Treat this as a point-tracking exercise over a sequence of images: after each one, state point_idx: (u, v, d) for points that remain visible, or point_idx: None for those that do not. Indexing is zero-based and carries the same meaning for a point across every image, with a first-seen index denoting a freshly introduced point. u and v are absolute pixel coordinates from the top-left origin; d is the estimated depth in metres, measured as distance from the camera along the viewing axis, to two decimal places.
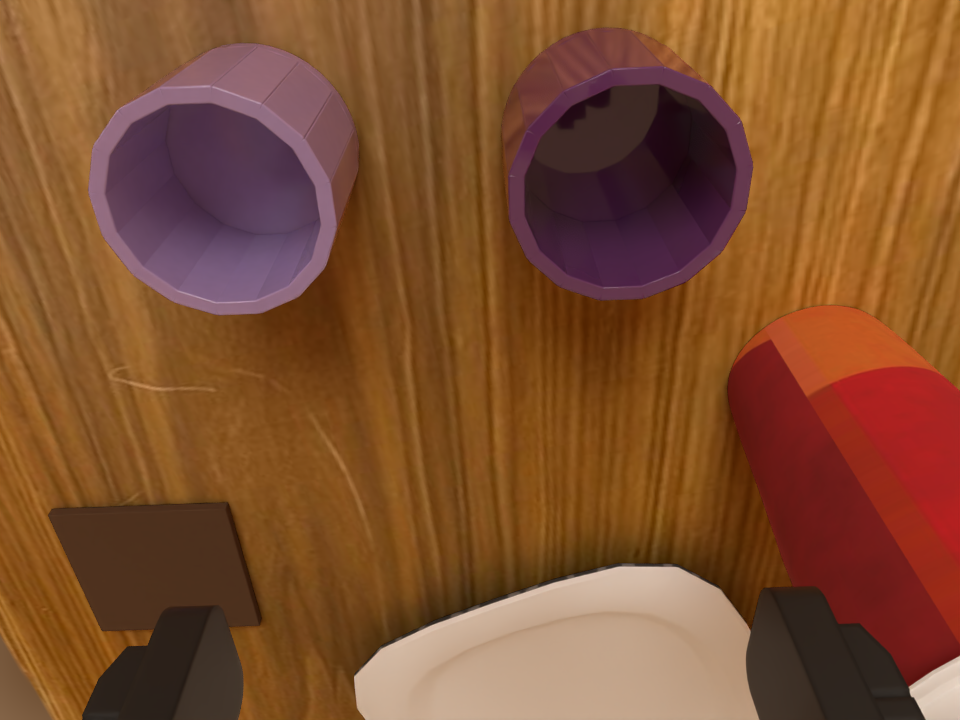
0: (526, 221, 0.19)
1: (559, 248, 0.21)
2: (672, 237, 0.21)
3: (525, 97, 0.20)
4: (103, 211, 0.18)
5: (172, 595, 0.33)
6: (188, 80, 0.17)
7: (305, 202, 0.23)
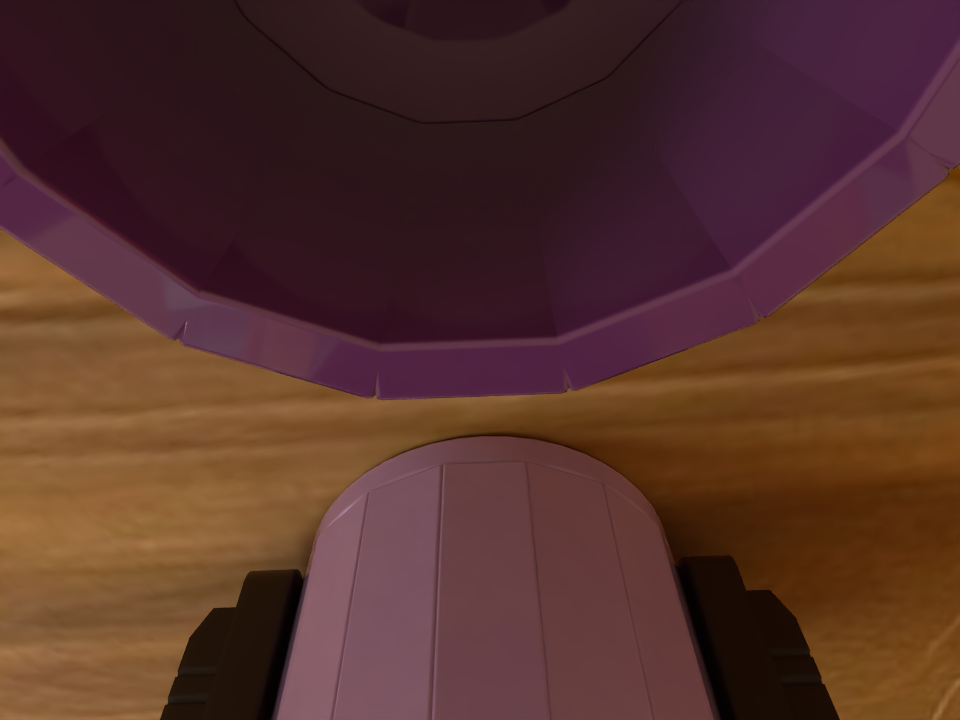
0: (579, 327, 0.04)
1: (776, 78, 0.05)
2: None
3: None
4: None
5: None
6: None
7: None
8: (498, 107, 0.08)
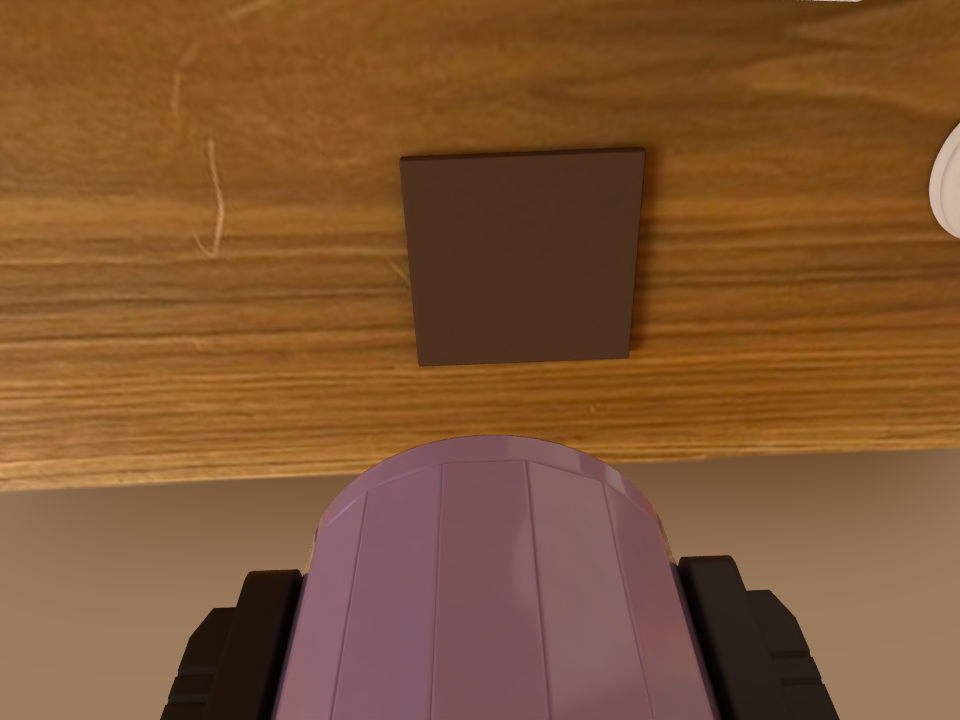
0: None
1: None
2: None
3: None
4: None
5: (566, 260, 0.24)
6: None
7: None
8: None
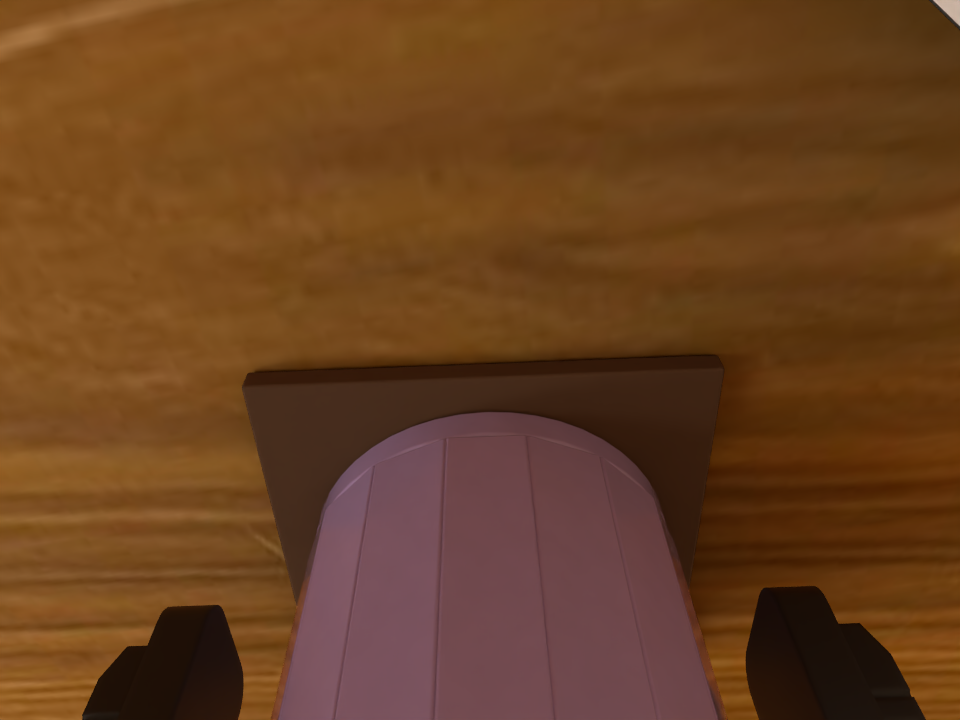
0: None
1: None
2: None
3: None
4: None
5: None
6: None
7: None
8: None
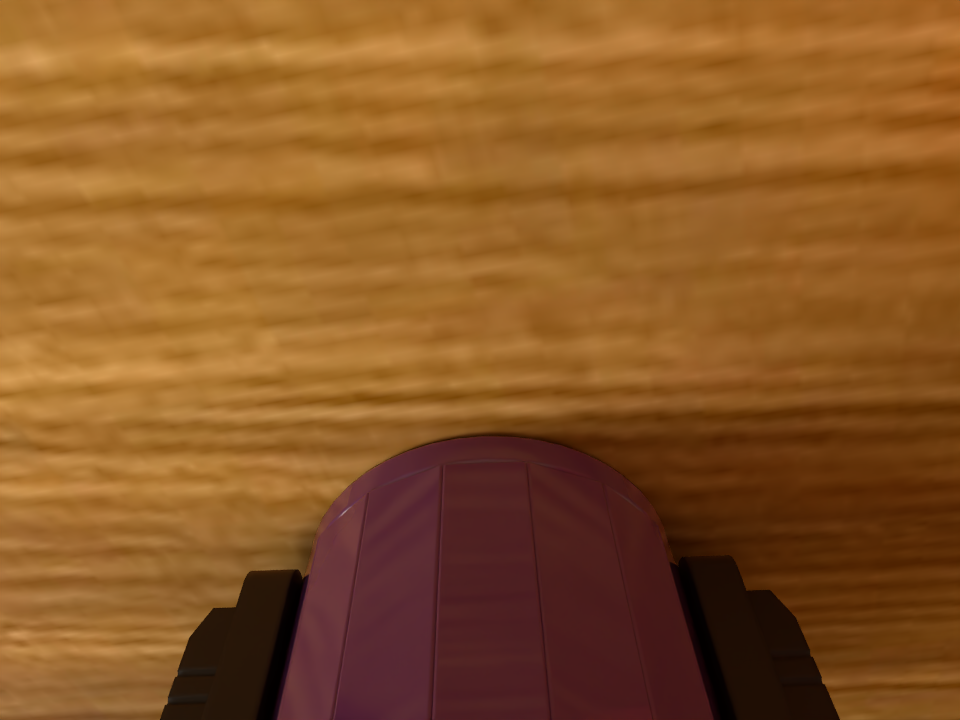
0: None
1: None
2: None
3: None
4: None
5: None
6: None
7: None
8: None
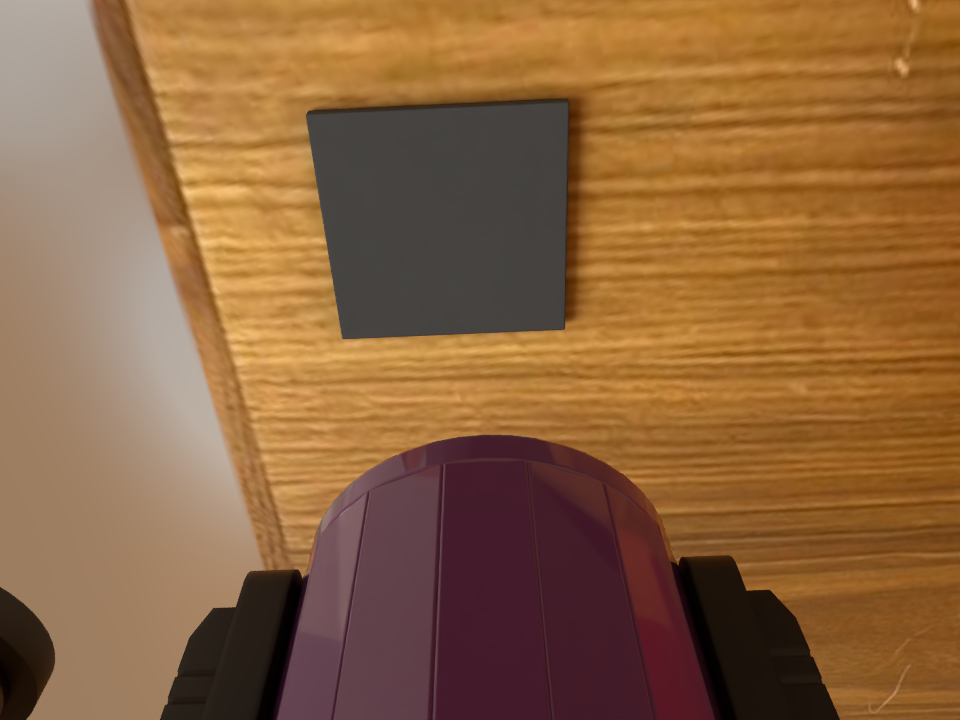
0: None
1: None
2: None
3: None
4: None
5: None
6: None
7: None
8: None
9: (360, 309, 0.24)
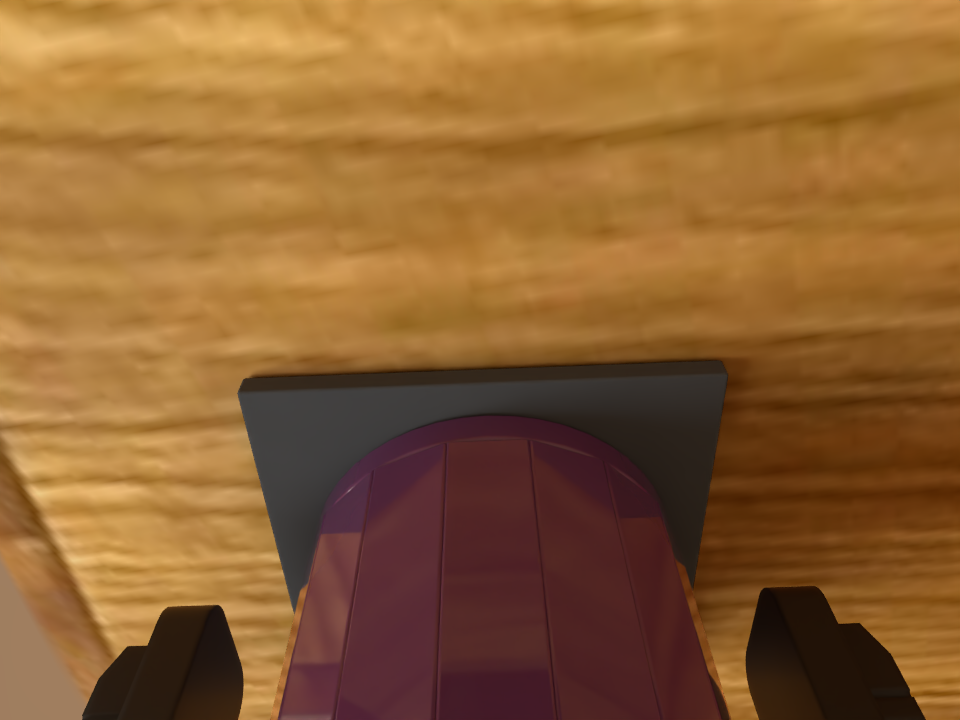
0: None
1: None
2: None
3: None
4: None
5: None
6: None
7: None
8: None
9: None
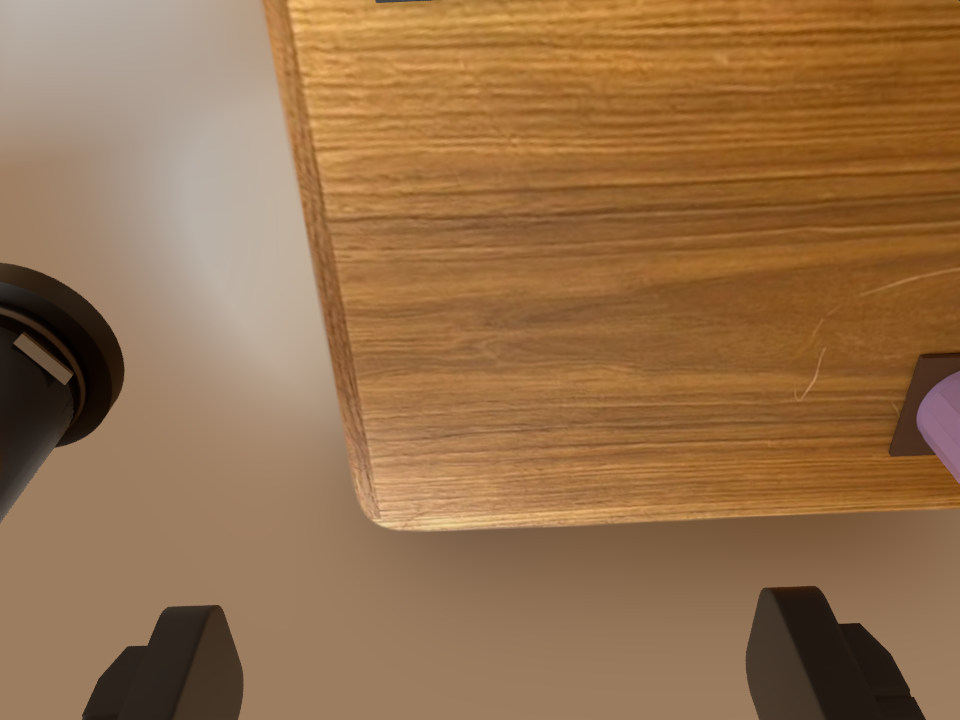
0: None
1: None
2: None
3: None
4: None
5: None
6: (958, 460, 0.40)
7: None
8: None
9: None
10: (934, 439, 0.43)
